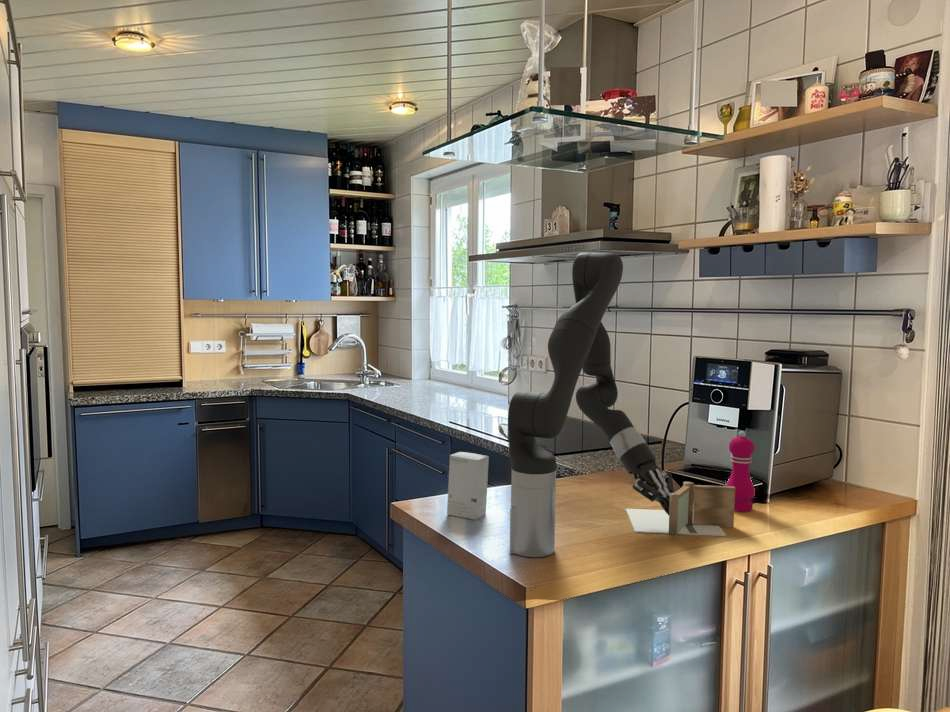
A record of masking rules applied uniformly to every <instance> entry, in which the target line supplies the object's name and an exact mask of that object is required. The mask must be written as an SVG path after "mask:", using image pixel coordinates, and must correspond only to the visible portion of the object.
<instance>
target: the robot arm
mask: <svg viewBox="0 0 950 712" xmlns="http://www.w3.org/2000/svg"><path fill="white" fill-rule="evenodd" d="M571 269H572V271H571V273H572V274H571V275H572V276H571V277H572V286H573V294H574V299H575V303H574V304H573V305H572V306H571V307H570V308H568V309H567V310H566V311H565V312H564V313H562V314H561V315H560V316H559V317H558V319H557V321H556V322H555V324H554V327H553V329H552V331H551V333H550V335H549V337H548V342H547V353H548V356H549V359H550V362H551V366H552V368H553V374H554V379H553V382H552V385H551V387H550V390H549V391H548V392H539V391H531V390H529V391H528V390H520V391H517V392H516V393H514V394H513V396H512V397H511V399H510V402H509V406H508V410H507V411H508V413H507V423H508V425H507V426H508V427H507V431H508V453H509V458H510V462H511V470H510V471H511V473H510V475H511V476H510V477H511V478H510V479H511V481H510V482H511V483H510V484H511V486H510V508H509V509H510V510H509V512H510V513H509V514H510V515H509V554H510V555H511V554H512V555H517V556H522V557H527V558H542V557H548V556H551V555H553V554H554V553H555V544H556V533H555V531H556V483H557V482H556V481H557V458H556V456H555V454H553V453H551V452H550V451H548V450H546V449H545V448H543V447H542V446H541V445H540V444H539V443H538V441H537V440H536V438H541V439H554V438H556V437H557V436H559V434H560V433H561V431H562V429H563V428H564V426H565V422H566V420H567V416H568V414H569V409H570V407H571V404H572V399H573V397H574V396H573V395H574V393H575V402H576V404H577V406H578V409H579V410H580V411H581V412H582V413H583V414H584V415H585V416H586V417H587V418H588V419H589V420H590V421H591V422H592V423H594V425H596V426H597V428H599V429H600V430H601V431H602V433H603V434H604V436H605V437H606V439H607V441H608V442H609V444H610V445H611V447H612V449H613V452H614V453H615V455H616V456H617V457H618V460H619V461H620V462H621V464H622V465H623V467H624V469H625V471H626V472H627V474H628V475H630V476H633V479H634V480H635V483H634V484H632V489H633V490H635V491H636V492H637V493H639V494H641V496H643V497H645V498H646V499H647V500H649V501H650V502H656V503H658V504H660V506H661V508H662V509H663V510H665V512H666V513H667V514H668V515H669V504H670V493H675V490H674V481H673V475H672V473H671V472H667V473H665V472H663V471H662V468H660V467H659V466H658V465H657V464H656V461H657V456H656V454H655V453H654V452H653V451H652V449H651V448H650V445H648V442H646V440H645V439H644V437H643V435H642V434H641V433H640V431H638V430H637V428H636V427H635V425H634V424H633V423H632V422H631V420H630V418H629V417H628V415H627V414H626V413H625V412H624V411H623V410H621V409H610V408H611V407H613V406H614V405H615V404H616V402H617V399H618V396H619V395H618V394H619V391H618V388H617V383H616V380H615V376H614V373H613V370H612V366H611V364H612V362H611V361H612V360H611V359H612V358H611V357H612V356H611V351H612V350H611V348H612V347H611V339H610V336H609V334H608V331H607V330H606V328H605V326H604V324H603V322H602V319H603V318H604V315H605V313H606V311H607V309H608V307H609V306H610V303H611V302H612V300H613V298H614V296H615V294H616V292H617V290H618V288H619V286H620V284H621V280H622V277H623V272H624V263H623V260H622V258H621V256H620V255H618V254H617V253H612V252H590V251H589V252H580V253H578V254H577V255H576V256H575V258H574V259H573V263H572V268H571ZM582 371H583V373H584V374H585V375H587V376H591V377H595V381H594V382H591V383H587V384H584V385H581V386H580V387H579V388H578V389H576V386H577V383H578V380H579V377H580V375H581V372H582ZM575 390H576V392H575Z"/></svg>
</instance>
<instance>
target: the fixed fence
mask: <svg viewBox="0 0 950 712" xmlns="http://www.w3.org/2000/svg"><path fill="white" fill-rule="evenodd" d="M682 484H683V485H682V487H683V486H690V490H689V504H688V524H687V525H692V524H699V525H719V527H720V528H734V527H735V526H734V523H735V511H734V503H735V487H734V486H726V485H706V484H705V485H702V484H695V483H694V482H692V481H683V482H682Z"/></svg>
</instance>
